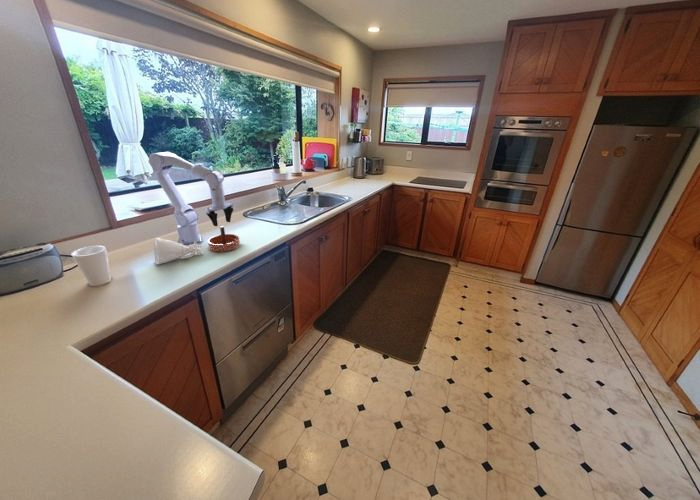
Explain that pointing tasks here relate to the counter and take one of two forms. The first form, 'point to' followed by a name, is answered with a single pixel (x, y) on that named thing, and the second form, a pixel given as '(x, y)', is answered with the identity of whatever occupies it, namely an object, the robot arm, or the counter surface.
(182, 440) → the counter surface
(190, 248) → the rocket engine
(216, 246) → the bowl
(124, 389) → the counter surface
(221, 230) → the stick
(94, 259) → the foam cup
